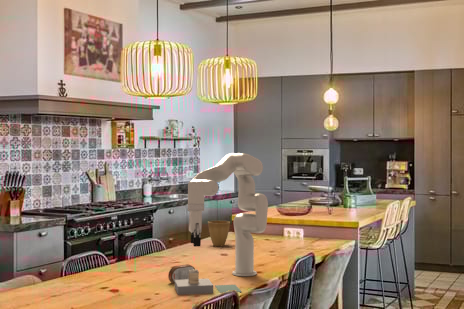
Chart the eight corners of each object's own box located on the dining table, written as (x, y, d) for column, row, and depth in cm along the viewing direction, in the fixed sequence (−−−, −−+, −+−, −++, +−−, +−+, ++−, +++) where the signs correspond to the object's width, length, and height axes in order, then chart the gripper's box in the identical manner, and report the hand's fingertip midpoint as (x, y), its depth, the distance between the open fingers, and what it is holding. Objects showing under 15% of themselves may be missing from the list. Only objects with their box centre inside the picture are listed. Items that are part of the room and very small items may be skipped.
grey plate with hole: (174, 288, 286) (174, 279, 286) (208, 286, 289) (208, 278, 289) (177, 295, 272) (177, 286, 272) (213, 294, 275) (213, 285, 275)
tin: (192, 279, 305) (192, 262, 305) (196, 280, 302) (196, 263, 302) (167, 284, 295) (167, 266, 295) (171, 285, 292) (171, 267, 292)
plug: (188, 289, 282) (188, 269, 282) (197, 288, 283) (197, 269, 283) (189, 291, 278) (189, 271, 278) (198, 290, 279) (198, 271, 279)
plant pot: (226, 247, 400) (226, 223, 400) (204, 246, 405) (204, 222, 405) (232, 244, 415) (233, 220, 414) (212, 243, 419) (212, 220, 419)
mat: (214, 286, 290) (214, 285, 290) (235, 285, 291) (235, 284, 291) (219, 293, 276) (219, 292, 276) (241, 292, 278) (241, 291, 278)
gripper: (185, 206, 288) (185, 242, 288) (190, 209, 271) (189, 247, 271) (201, 205, 290) (201, 242, 290) (206, 209, 273) (206, 247, 273)
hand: (195, 244), depth 280 cm, fingers open, 9 cm apart
